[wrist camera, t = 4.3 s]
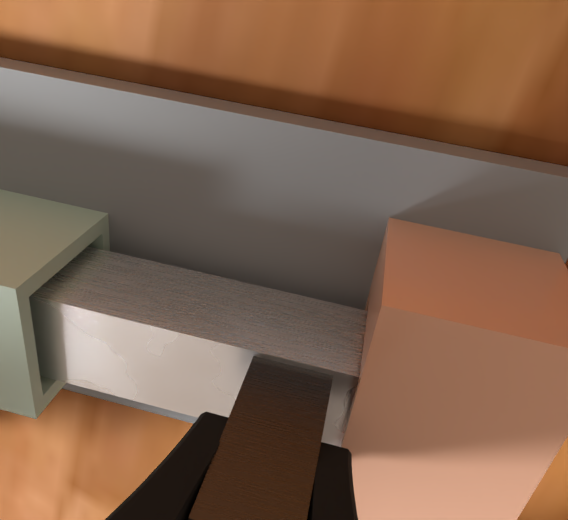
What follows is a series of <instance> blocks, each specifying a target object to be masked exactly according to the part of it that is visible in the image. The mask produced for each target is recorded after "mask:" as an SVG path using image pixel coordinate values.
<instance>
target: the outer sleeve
mask: <svg viewBox="0 0 568 520" xmlns="http://www.w3.org/2000/svg"><path fill="white" fill-rule="evenodd" d="M87 246H90V247H95V248H99V249H103V250H108V251H110V242H109V219H108V213H104V212H100V211H95V210H91V209H86V208H82V207H78V206H73V205H69V204H64V203H60V202H55V201H51V200H46V199H42V198H37V197H33V196H28V195H24V194H19V193H15V192H11V191H6V190H2V189H0V409H1V410H5V411H8V412H12V413H16V414H19V415H23V416H27V417H30V418H34V419H37V418H38V416H39V415H40V414H41V413H42V412H43V410H44V409H45V408H46V407H47V406H48V404H49V403H50V402H51V401H52V399H53V398H54V397H55V396H56V395H57V393H58V392H59V391H60V390H61V389H62V387H63V386H64V385H65V384H66V383H65V382H61V381H58V380H54V379H50V378H46V377H43V376H40V372H39V365H38V358H37V351H36V344H35V337H34V330H33V323H32V316H31V309H30V302H29V297H30V296H31V295H32V294H33V293H34V292H35V291H36V290H38V289H39V288H40V287H41V286H42V285H43V284H45V283H46V282H47V281H48V280H49V279H50V278H51V277H53V276H54V275H55V274H56V273H57V272H58V271H60V270H61V269H62V268H63V267H64V266H65V265H66V264H68V263H69V262H70V261H71V260H72V259H73V258H75V257H76V256H77V255H78V254H79V253H80V252H81V251H83V250H84V249H85V248H86V247H87Z"/></svg>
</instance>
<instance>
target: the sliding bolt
mask: <svg viewBox="0 0 568 520" xmlns="http://www.w3.org/2000/svg"><path fill="white" fill-rule="evenodd" d="M29 302H30V309H31V316H32V323H33V330H34V337H35V344H36V351H37V358H38V365H39V372H40V376H43V377H46V378H50V379H54V380H58V381H61V382H65V383H69V384H73V385H76V386H80V387H84V388H88V389H92V390H95V391H99V392H103V393H107V394H110V395H114V396H118V397H122V398H125V399H129V400H133V401H137V402H141V403H144V404H148V405H152V406H156V407H159V408H163V409H167V410H171V411H175V412H178V413H182V414H186V415H190V416H193V417H197V418H198V417H199V416H200V415H201V414H202V413H204V412H210V413H214V414H217V415H221V416H225V417H229V418H228V420H227V423H226V425H225V428H224V430H223V433H222V435H221V438H220V440H219V442H220V444H219V447H218V449H217V451H216V453H215V454H214V456H213V458H212V460H211V463H210V465H209V468H208V470H207V473H206V475H205V478H204V480H203V483H202V485H201V488H200V490H199V493H198V495H197V498H196V500H195V503H194V505H193V508H192V510H191V513H190V515H189V518H188V520H307V515H308V510H309V505H310V499H311V494H312V488H313V483H314V478H315V471H316V467H317V462H318V456H319V451H320V446H321V442H324V443H327V444H331V445H335V446H339V447H340V445H341V442H342V438H343V435H344V431H345V428H346V424H347V420H348V417H349V413H350V410H351V406H352V403H353V399H354V396H355V392H356V389H357V385H358V381H359V377H360V368H361V360H362V352H363V344H364V336H365V328H366V319H367V311H366V310H362V309H357V308H353V307H349V306H344V305H340V304H336V303H331V302H327V301H323V300H319V299H314V298H310V297H306V296H301V295H297V294H293V293H288V292H284V291H280V290H276V289H271V288H267V287H263V286H258V285H254V284H250V283H245V282H241V281H237V280H232V279H228V278H224V277H220V276H215V275H211V274H207V273H202V272H198V271H194V270H189V269H185V268H181V267H176V266H172V265H168V264H164V263H159V262H155V261H151V260H146V259H142V258H138V257H133V256H129V255H125V254H121V253H116V252H112V251H108V250H103V249H99V248H95V247H90V246H87V247H86V248H85V249H84V250H83V251H81V252H80V253H79V254H78V255H77V256H76V257H75V258H73V259H72V260H71V261H70V262H69V263H68V264H66V265H65V266H64V267H63V268H62V269H61V270H60V271H58V272H57V273H56V274H55V275H54V276H53V277H51V278H50V279H49V280H48V281H47V282H46V283H45V284H43V285H42V286H41V287H40V288H39V289H38V290H36V291H35V292H34V293H33V294H32V295H31V296H30V297H29Z"/></svg>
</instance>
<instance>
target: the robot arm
mask: <svg viewBox="0 0 568 520" xmlns="http://www.w3.org/2000/svg"><path fill="white" fill-rule="evenodd" d="M228 418H229V417H225V416H221V415H217V414H214V413H210V412H204V413H202V414H201V415H200V416H199V417H198V419H197V420H196V422H195V423H194V424H193V426H192V427H191V428H190V429H189V431H188V432H187V433H186V434H185V436H184V437H183V438H182V439H181V441H180V442H179V443H178V444H177V445H176V447H175V448H174V449H173V450H172V451H171V452H170V453H169V455H168V456H167V457H166V458H165V459H164V460H163V461H162V462H161V464H160V465H159V466H158V467H157V468H156V469H155V470H154V471H153V472H152V473H151V474H150V475H149V476H148V477H147V479H146V480H145V481H144V482H143V483H142V484H141V485H140V486H139V487H138V488H137V489H136V490H135V491H134V492H133V493H132V494H131V495H130V496H129V497H128V498H127V499H126V500H125V501H124V502H123V503H122V504H121V505H120V506H119V507H118V508H117V509H116V510H115V511H113V512H112V513H111V514H110V515H109V516H108V517H107V518H106V519H105V520H188V518H189V515H190V513H191V510H192V508H193V505H194V503H195V500H196V498H197V495H198V493H199V490H200V488H201V485H202V483H203V480H204V478H205V475H206V473H207V470H208V468H209V465H210V463H211V460H212V458H213V456H214V454H215V453H216V451H217V449H218V447H219V444H220V442H219V440H220V438H221V435H222V433H223V430H224V428H225V425H226V423H227V420H228ZM307 520H358V516H357V509H356V502H355V495H354V487H353V476H352V454H351V452H350V451H349V450H348V449H346V448H343V447H339V446H335V445H331V444H327V443H324V442H321V446H320V451H319V456H318V462H317V467H316V471H315V478H314V483H313V488H312V494H311V499H310V505H309V510H308V515H307Z"/></svg>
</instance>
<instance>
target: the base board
mask: <svg viewBox="0 0 568 520" xmlns="http://www.w3.org/2000/svg"><path fill="white" fill-rule="evenodd" d="M0 189H2V190H6V191H11V192H15V193H19V194H24V195H28V196H33V197H37V198H42V199H46V200H51V201H55V202H60V203H64V204H69V205H73V206H78V207H82V208H86V209H91V210H95V211H100V212H104V213H108V219H109V242H110V251H112V252H116V253H121V254H125V255H129V256H133V257H138V258H142V259H146V260H151V261H155V262H159V263H164V264H168V265H172V266H176V267H181V268H185V269H189V270H194V271H198V272H202V273H207V274H211V275H215V276H220V277H224V278H228V279H232V280H237V281H241V282H245V283H250V284H254V285H258V286H263V287H267V288H271V289H276V290H280V291H284V292H288V293H293V294H297V295H301V296H306V297H310V298H314V299H319V300H323V301H327V302H331V303H336V304H340V305H344V306H349V307H353V308H357V309H362V310H365V306H366V302H367V298H368V295H369V291H370V287H371V283H372V279H373V276H374V272H375V268H376V264H377V261H378V257H379V253H380V249H381V245H382V242H383V238H384V234H385V230H386V226H387V223H388V219H389V218H394V219H399V220H404V221H408V222H413V223H418V224H423V225H427V226H432V227H437V228H442V229H446V230H451V231H456V232H461V233H465V234H470V235H475V236H480V237H484V238H489V239H494V240H498V241H503V242H508V243H513V244H517V245H522V246H527V247H532V248H536V249H541V250H546V251H551V252H555V253H559V254H560V255H561V257H562V259H563V261H564V263H566V261H567V259H568V166H563V165H558V164H552V163H547V162H542V161H537V160H532V159H527V158H521V157H516V156H511V155H506V154H501V153H495V152H490V151H485V150H480V149H475V148H469V147H464V146H459V145H454V144H449V143H444V142H438V141H433V140H428V139H423V138H418V137H412V136H407V135H402V134H397V133H392V132H386V131H381V130H376V129H371V128H366V127H360V126H355V125H350V124H345V123H340V122H335V121H329V120H324V119H319V118H314V117H309V116H303V115H298V114H293V113H288V112H283V111H277V110H272V109H267V108H262V107H257V106H252V105H246V104H241V103H236V102H231V101H226V100H220V99H215V98H210V97H205V96H200V95H194V94H189V93H184V92H179V91H174V90H168V89H163V88H158V87H153V86H148V85H143V84H137V83H132V82H127V81H122V80H117V79H111V78H106V77H101V76H96V75H91V74H85V73H80V72H75V71H70V70H65V69H60V68H54V67H49V66H44V65H39V64H34V63H28V62H23V61H18V60H13V59H8V58H2V57H0ZM62 389H66V390H70V391H73V392H77V393H81V394H85V395H88V396H92V397H96V398H100V399H103V400H107V401H111V402H115V403H118V404H122V405H126V406H130V407H133V408H137V409H141V410H145V411H148V412H152V413H156V414H160V415H163V416H167V417H171V418H175V419H178V420H182V421H186V422H190V423H193V424H194V423H195V422H196V420H197V419H198V418H197V417H193V416H190V415H186V414H182V413H178V412H175V411H171V410H167V409H163V408H159V407H156V406H152V405H148V404H144V403H141V402H137V401H133V400H129V399H125V398H122V397H118V396H114V395H110V394H107V393H103V392H99V391H95V390H92V389H88V388H84V387H80V386H76V385H73V384H69V383H66V384H65V385H64V386H63V387H62Z"/></svg>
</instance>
